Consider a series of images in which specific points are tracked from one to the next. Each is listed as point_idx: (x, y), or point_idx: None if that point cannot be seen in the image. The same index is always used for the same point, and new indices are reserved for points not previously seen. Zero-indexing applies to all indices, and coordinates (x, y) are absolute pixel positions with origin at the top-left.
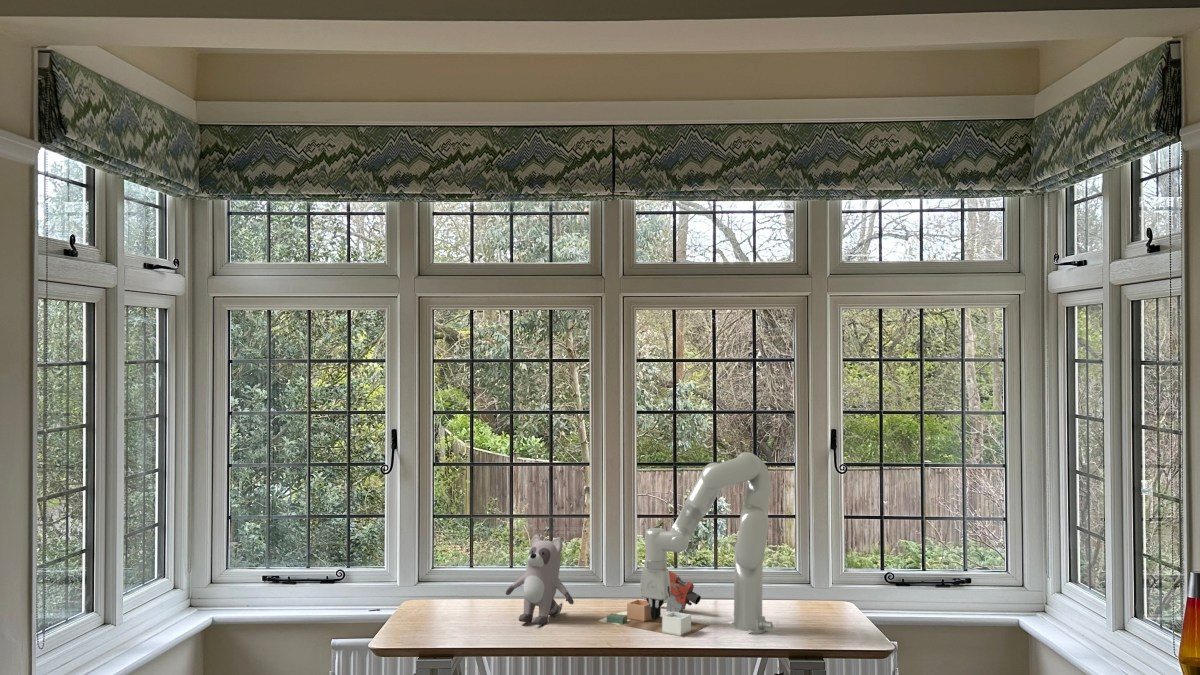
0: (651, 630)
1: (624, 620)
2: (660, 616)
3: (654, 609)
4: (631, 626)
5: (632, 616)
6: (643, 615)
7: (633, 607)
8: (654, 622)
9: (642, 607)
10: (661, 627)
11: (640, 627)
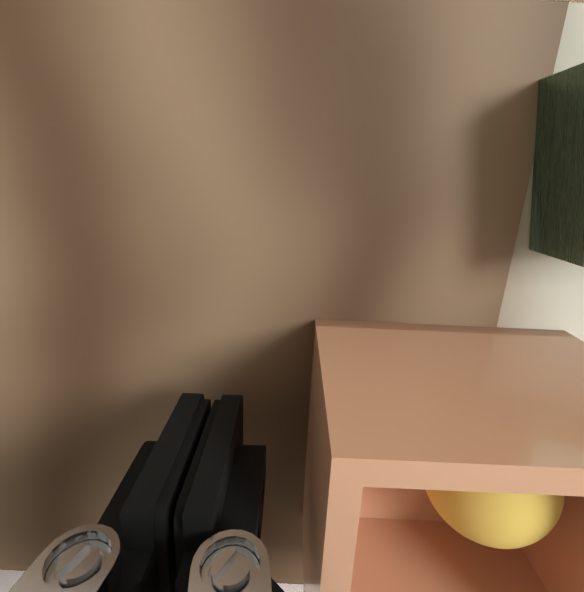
0: (11, 3)
1: (556, 146)
2: (281, 578)
3: (150, 485)
4: (366, 28)
5: (507, 345)
6: (333, 357)
7: (581, 422)
8: (211, 376)
9: (375, 434)
10: (14, 232)
11: (229, 60)
